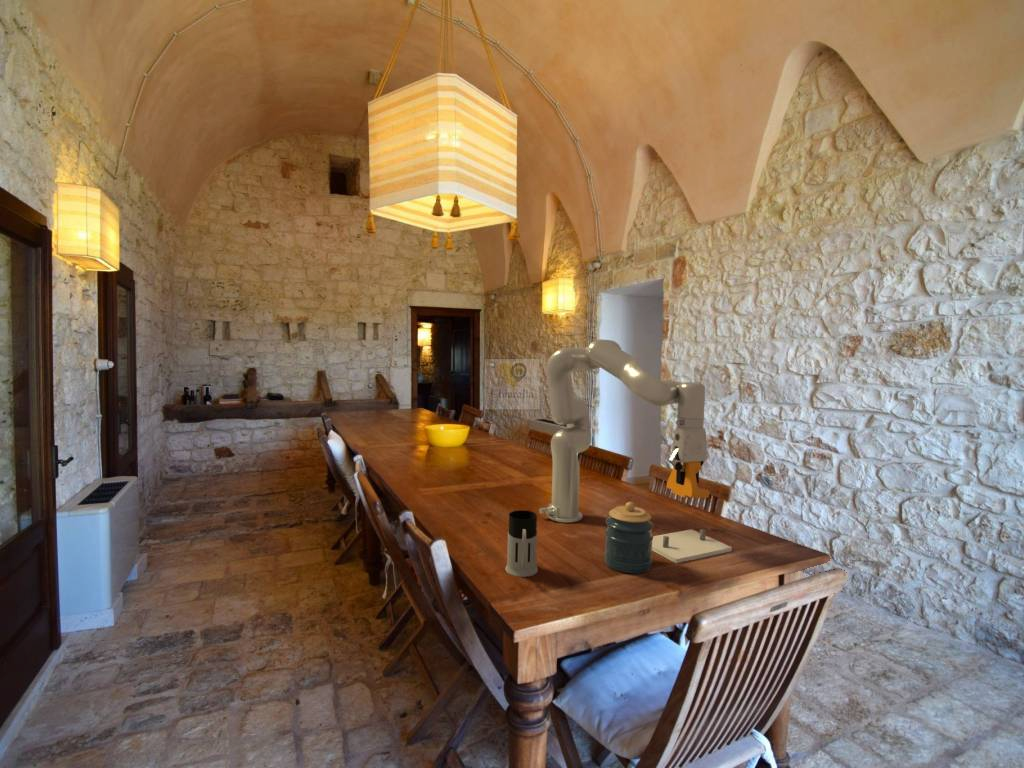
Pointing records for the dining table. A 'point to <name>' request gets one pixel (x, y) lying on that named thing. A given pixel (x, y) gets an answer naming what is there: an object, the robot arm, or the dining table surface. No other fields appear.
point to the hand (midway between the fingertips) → (687, 482)
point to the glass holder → (522, 543)
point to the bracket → (687, 482)
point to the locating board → (687, 545)
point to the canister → (629, 539)
